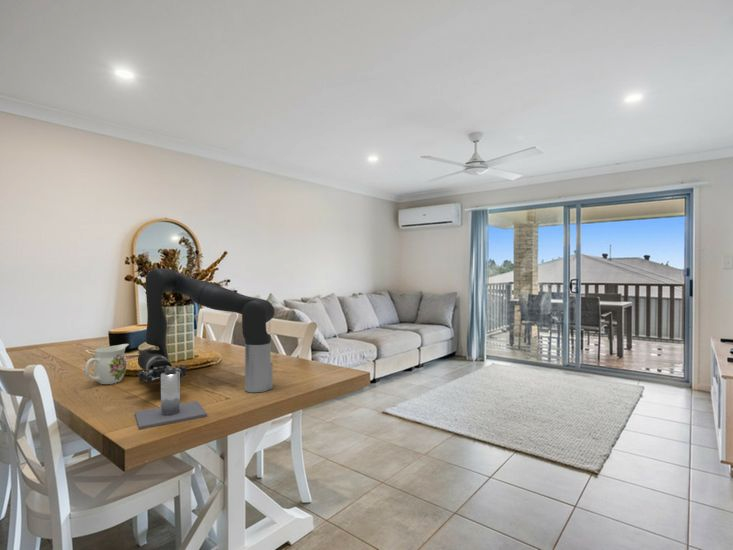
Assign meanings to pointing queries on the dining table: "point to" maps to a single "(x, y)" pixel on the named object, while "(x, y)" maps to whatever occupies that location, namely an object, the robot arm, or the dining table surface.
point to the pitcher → (108, 364)
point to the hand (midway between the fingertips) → (165, 377)
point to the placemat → (156, 419)
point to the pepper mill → (170, 392)
